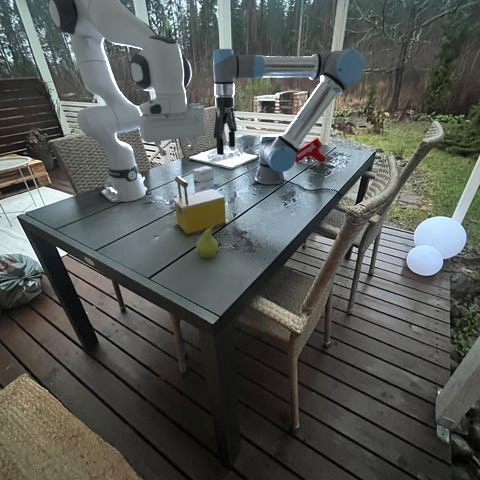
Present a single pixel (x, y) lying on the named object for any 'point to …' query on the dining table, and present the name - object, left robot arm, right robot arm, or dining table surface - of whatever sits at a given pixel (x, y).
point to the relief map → (224, 157)
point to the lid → (194, 196)
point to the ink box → (203, 179)
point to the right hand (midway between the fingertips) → (226, 150)
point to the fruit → (207, 244)
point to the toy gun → (311, 151)
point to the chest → (201, 217)
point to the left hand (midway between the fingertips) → (177, 153)
